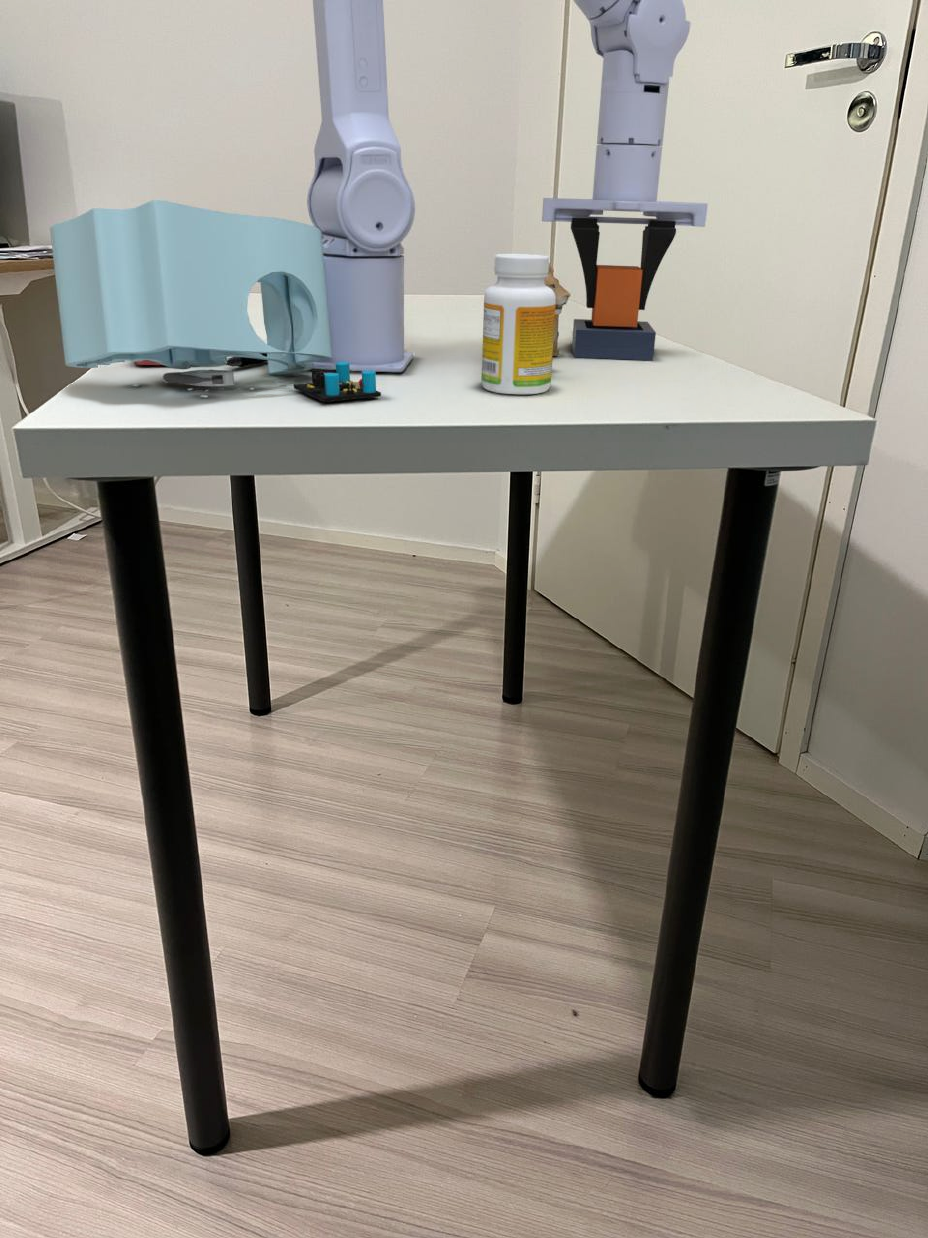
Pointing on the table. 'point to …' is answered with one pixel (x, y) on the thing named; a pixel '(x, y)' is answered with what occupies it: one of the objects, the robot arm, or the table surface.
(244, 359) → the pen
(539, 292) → the supplement bottle
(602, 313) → the orange rectangular block
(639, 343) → the blue square tray
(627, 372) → the table surface
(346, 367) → the circuit board
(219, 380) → the grey piece
